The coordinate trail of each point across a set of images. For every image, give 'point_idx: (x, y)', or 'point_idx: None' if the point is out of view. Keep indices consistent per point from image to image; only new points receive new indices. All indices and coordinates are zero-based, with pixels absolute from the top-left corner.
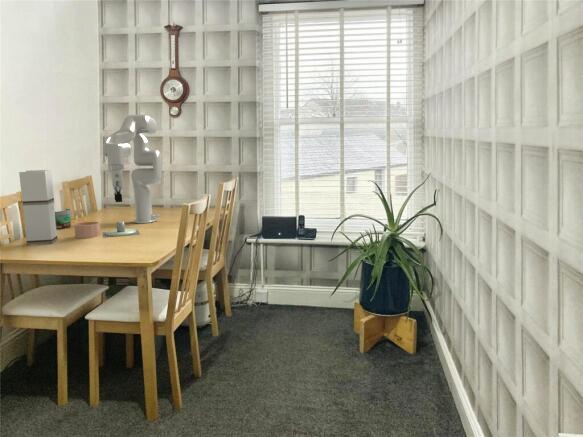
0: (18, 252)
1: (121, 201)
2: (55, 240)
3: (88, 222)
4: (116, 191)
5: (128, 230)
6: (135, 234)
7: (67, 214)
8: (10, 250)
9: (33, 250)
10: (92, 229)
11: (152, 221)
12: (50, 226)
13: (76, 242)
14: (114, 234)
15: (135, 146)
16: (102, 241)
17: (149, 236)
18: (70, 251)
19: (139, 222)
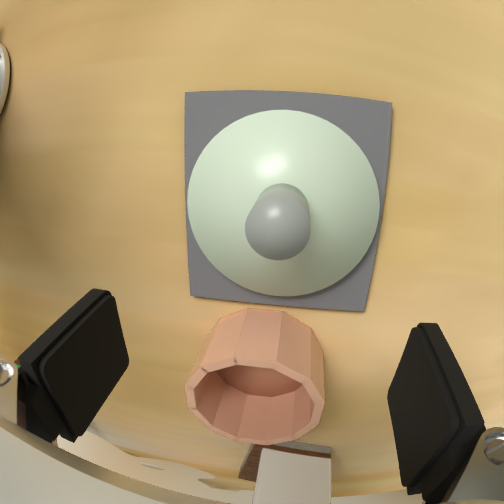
0: (394, 480)
1: (432, 332)
2: (286, 442)
3: (195, 393)
4: (50, 434)
5: (263, 157)
6: (374, 129)
7: None
8: (353, 492)
9: (398, 466)
10: (320, 377)
11: (4, 47)
12: (328, 497)
13: (366, 397)
14: (361, 258)
15: None
16: (424, 314)
17: (437, 66)
18: (495, 397)
19: (2, 103)
